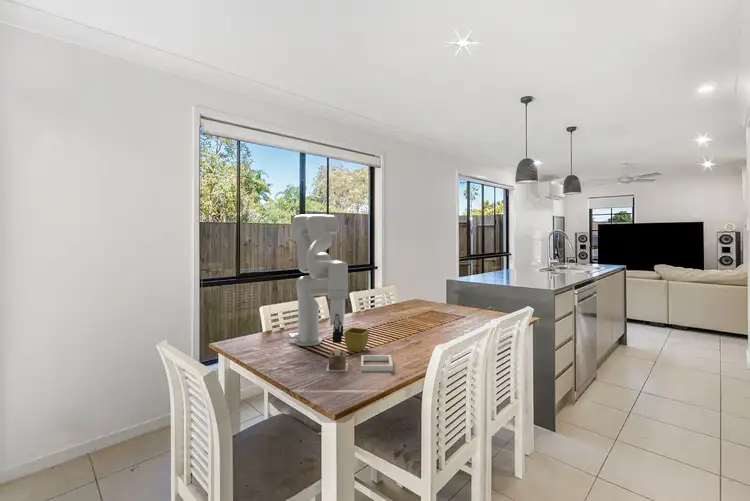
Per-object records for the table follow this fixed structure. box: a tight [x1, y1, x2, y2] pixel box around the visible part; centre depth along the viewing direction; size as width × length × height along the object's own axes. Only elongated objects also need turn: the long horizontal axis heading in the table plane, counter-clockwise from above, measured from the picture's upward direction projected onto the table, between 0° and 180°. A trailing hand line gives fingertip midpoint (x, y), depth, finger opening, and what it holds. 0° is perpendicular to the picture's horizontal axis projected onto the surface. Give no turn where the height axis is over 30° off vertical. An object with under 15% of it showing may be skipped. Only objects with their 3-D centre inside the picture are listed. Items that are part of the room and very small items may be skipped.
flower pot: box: [343, 327, 370, 353], centre depth 160 cm, size 9×9×9 cm
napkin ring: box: [328, 351, 347, 370], centre depth 139 cm, size 6×6×5 cm
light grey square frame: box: [360, 354, 394, 373], centre depth 142 cm, size 12×12×2 cm
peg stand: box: [325, 348, 349, 372], centre depth 139 cm, size 8×8×7 cm
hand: (338, 339), depth 138 cm, fingers open, 9 cm apart
